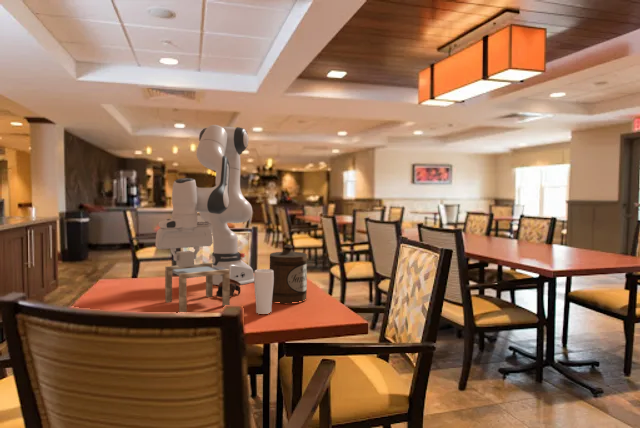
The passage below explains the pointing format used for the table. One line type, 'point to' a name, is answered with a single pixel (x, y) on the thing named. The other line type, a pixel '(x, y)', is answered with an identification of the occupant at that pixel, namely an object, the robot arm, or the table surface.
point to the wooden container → (289, 275)
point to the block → (185, 258)
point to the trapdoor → (196, 270)
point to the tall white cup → (263, 290)
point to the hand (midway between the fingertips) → (185, 259)
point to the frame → (196, 274)
